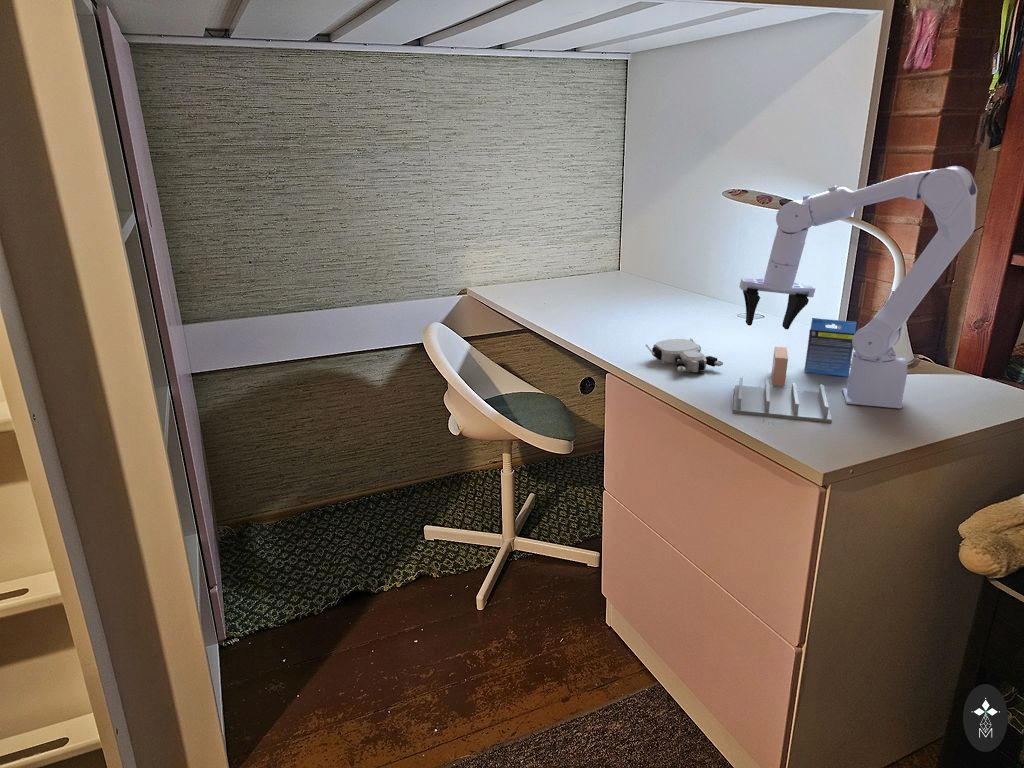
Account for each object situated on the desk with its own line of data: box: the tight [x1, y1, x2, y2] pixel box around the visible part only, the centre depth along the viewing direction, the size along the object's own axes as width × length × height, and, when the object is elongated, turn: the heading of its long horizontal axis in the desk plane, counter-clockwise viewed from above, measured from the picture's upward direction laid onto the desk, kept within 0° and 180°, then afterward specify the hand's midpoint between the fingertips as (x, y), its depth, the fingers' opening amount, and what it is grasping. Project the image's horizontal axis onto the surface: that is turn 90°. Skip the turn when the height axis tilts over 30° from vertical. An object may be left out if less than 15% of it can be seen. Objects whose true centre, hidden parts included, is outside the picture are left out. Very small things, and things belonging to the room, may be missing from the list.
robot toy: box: [645, 337, 724, 373], centre depth 155 cm, size 12×4×15 cm
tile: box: [771, 346, 789, 387], centre depth 145 cm, size 2×8×6 cm, turn 161°
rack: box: [732, 377, 833, 423], centre depth 132 cm, size 17×14×3 cm
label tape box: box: [804, 317, 857, 378], centre depth 147 cm, size 9×4×12 cm, turn 66°
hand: (766, 325), depth 143 cm, fingers open, 7 cm apart
